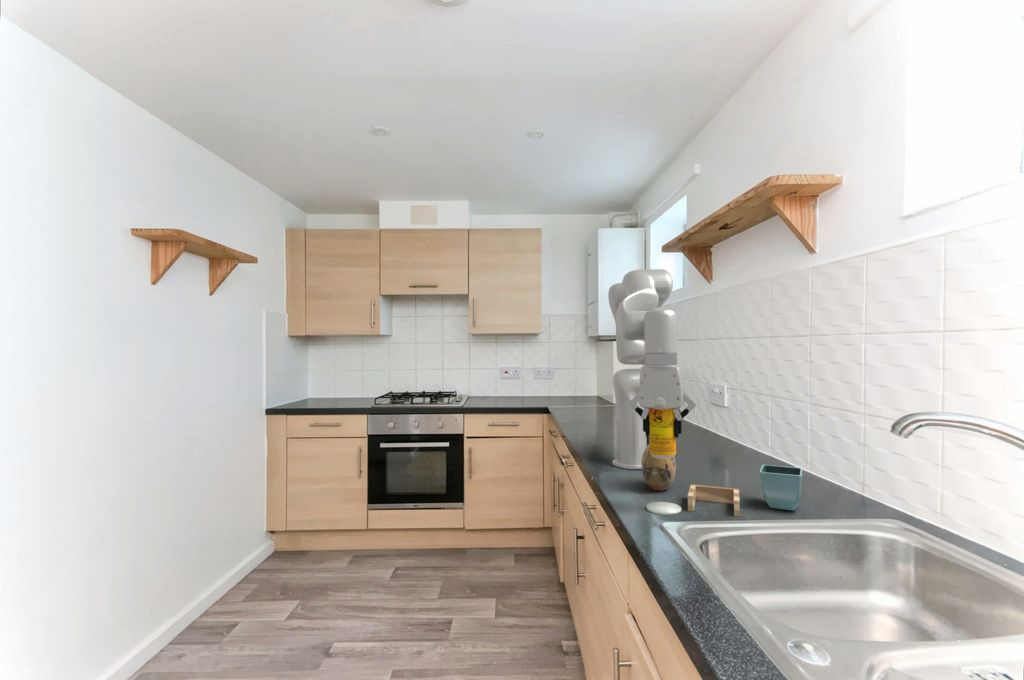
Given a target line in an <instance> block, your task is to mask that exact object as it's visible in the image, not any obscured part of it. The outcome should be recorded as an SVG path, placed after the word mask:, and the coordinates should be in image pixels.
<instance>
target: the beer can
mask: <svg viewBox="0 0 1024 680" xmlns="http://www.w3.org/2000/svg"><path fill="white" fill-rule="evenodd" d="M648 416H649V436H648V440H649V441H648V443H649V444H648V445H649V448H650V454H651V455H652V457H654V458H659V459H670V458H674V456H675V457H676V455H677V440H676V439H677V438H676V437H675V427H674V421H675V420H676V419H675V418H676V416H675V414H674V412H673V409H668V408H666V402H665V399H663V398H661V397H659V398H657V399H655V407H654V408H649V415H648Z"/></svg>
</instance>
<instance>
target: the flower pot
mask: <svg viewBox="0 0 1024 680" xmlns="http://www.w3.org/2000/svg"><path fill="white" fill-rule="evenodd" d="M759 477H760V478H759V479H760V485H761V491H762V495H763V498H764V500H765V502H766V504H767V505H768V507H769V508H771V509H776V510H777V509H778V510H787V511H795V510H796V508H797V506H798V504H799V502H800V498H801V493H802V479H803V468H801V467H796V466H795V467H793V466H782V465H773V464H771V465H770V464H761V467H760V469H759Z"/></svg>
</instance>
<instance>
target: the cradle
mask: <svg viewBox="0 0 1024 680" xmlns="http://www.w3.org/2000/svg"><path fill="white" fill-rule="evenodd" d="M696 501H704V502H712V503H713V502H714V503H721V504H730V505H733V515H734V517H739V516H740V517H741V509H740V506H741V505H740V504H741V502H740V501H741V500H740V489H739V488H734V487H725V486H724V487H721V486H714V485H713V486H712V485H701V484H690V485H689V490H688V493H687V511H688V512H694V509H695V505H696Z"/></svg>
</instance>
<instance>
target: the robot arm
mask: <svg viewBox="0 0 1024 680" xmlns="http://www.w3.org/2000/svg"><path fill="white" fill-rule="evenodd" d="M673 287H674V281H673V277H672V275H671V274H670V272H669V271H668V270H666V269H661V268H656V269H655V268H653V269H651V268H650V269H634V270H633V269H632V270H631V271H628V272H627V273H626V274H625V275H624V276H623V277H622V281H621V282H618V283H615V284H612V285H611V286H610V287H609V289H608V292H607V293H608V294H607V295H608V296H607V297H608V299H607V300H608V305H609V308H610V310H611V314H612V316H613V320H614V322H615V343H616V346H615V347H616V357H617V360H618V362H619V363H621V364H623V365H628V366H629V365H630V366H632V365H633V366H634V365H635V366H636V365H637V366H639V365H642V366H641V367H640V368H624V369H619V370H617V371H616V372H615V373H614V374H613V377H612V384H613V385H612V386H613V392H614V398H615V412H616V415H615V416H616V457H617V458H615V459H613V460H612V465H613V466H614V467H617V468H619V469H620V468H621V469H625V470H627V469H628V470H642V467H641V462H642V456H643V452H644V450H645V448H646V447H647V446H648V444H647V443H648V442H647V437H649V408H654V407H655V399H657V398H659V397H661V398H663V399H665V402H666V408H668V409H673V412H674V414H675V421H674V427H675V437H676V439H678V438H679V436H680V434H682V433H683V432H682V430H683V429H682V428H683V427H682V425H683V424H682V420H683V419H684V418H685V417H686V416H687V415H688V414H689V413H691V411H693V410H694V409H695V408H696V406H697V404H696V403H695V401H693V399H691V398H690V397H689V396H688V395H687V394H686V393H685V391H684V390H685V389H684V381H683V373H682V368H681V366H678V342H677V341H678V340H677V339H678V338H677V337H678V336H677V335H678V334H677V331H678V330H677V315H676V312H675V311H674V310H673V309H670V308H669V309H667V308H661V307H662V306H663V305H664V304H665V303H666V301H667V300H669V297H670V296H671V294H672V292H673ZM657 308H658V309H657ZM659 308H660V309H659ZM685 403H686V404H687V406H686V407H685V408H684V409H683V410H682V411H681V408H682V407H683V406H684V404H685Z"/></svg>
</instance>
